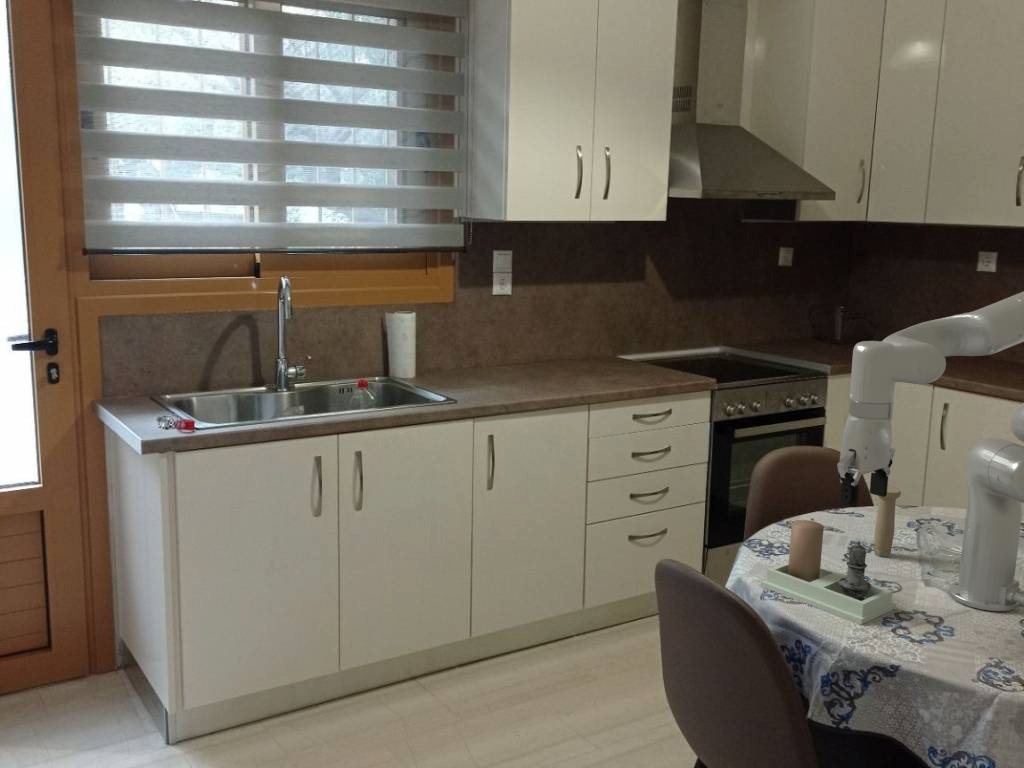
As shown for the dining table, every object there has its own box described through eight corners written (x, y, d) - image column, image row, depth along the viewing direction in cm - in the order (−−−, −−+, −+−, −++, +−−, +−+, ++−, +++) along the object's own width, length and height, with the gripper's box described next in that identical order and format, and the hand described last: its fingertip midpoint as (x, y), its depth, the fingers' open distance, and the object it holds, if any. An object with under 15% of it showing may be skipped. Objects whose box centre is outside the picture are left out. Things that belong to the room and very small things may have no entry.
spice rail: (896, 608, 187) (902, 542, 185) (861, 624, 180) (867, 556, 177) (796, 572, 204) (801, 512, 202) (760, 586, 197) (765, 523, 194)
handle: (872, 558, 213) (878, 491, 210) (868, 548, 219) (875, 483, 216) (895, 561, 212) (902, 493, 209) (892, 550, 218) (898, 485, 215)
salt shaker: (871, 609, 184) (877, 547, 182) (838, 605, 185) (844, 544, 183) (867, 596, 190) (873, 537, 188) (835, 593, 191) (840, 534, 189)
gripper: (877, 400, 189) (870, 486, 192) (825, 412, 178) (818, 504, 181) (914, 406, 183) (907, 496, 186) (863, 420, 172) (855, 514, 176)
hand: (863, 500), depth 184 cm, fingers open, 9 cm apart
